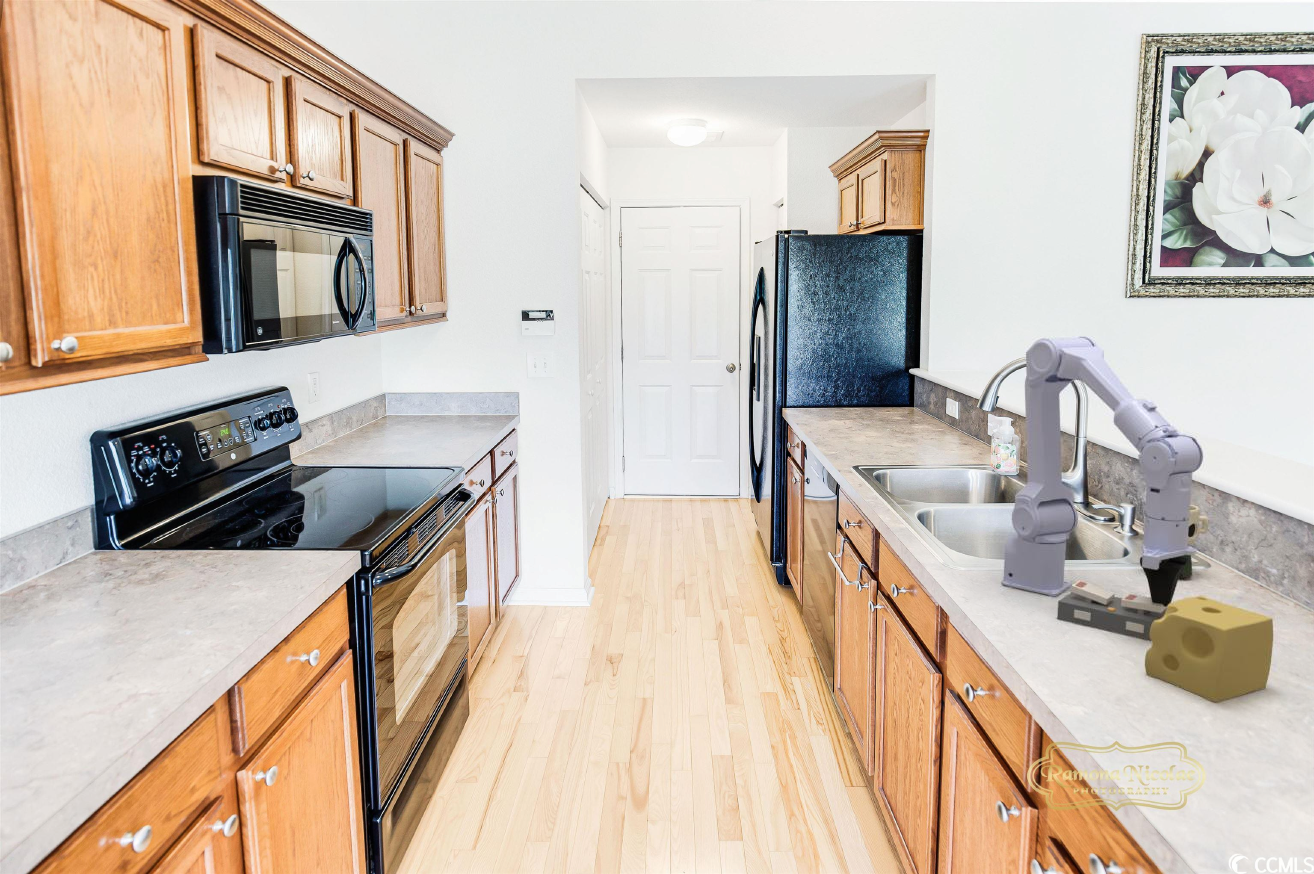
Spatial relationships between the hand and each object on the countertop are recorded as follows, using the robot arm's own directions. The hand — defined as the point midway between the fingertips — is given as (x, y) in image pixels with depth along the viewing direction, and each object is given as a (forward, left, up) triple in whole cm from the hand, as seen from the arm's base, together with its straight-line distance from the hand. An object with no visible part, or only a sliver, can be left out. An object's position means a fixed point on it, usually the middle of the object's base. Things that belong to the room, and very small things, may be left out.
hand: (1161, 604), depth 132 cm
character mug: (-7, +32, -5) cm, 33 cm away
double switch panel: (-6, 0, -5) cm, 8 cm away
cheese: (+9, -14, -5) cm, 18 cm away
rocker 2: (-2, 0, 0) cm, 2 cm away
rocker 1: (-10, 0, 0) cm, 10 cm away
